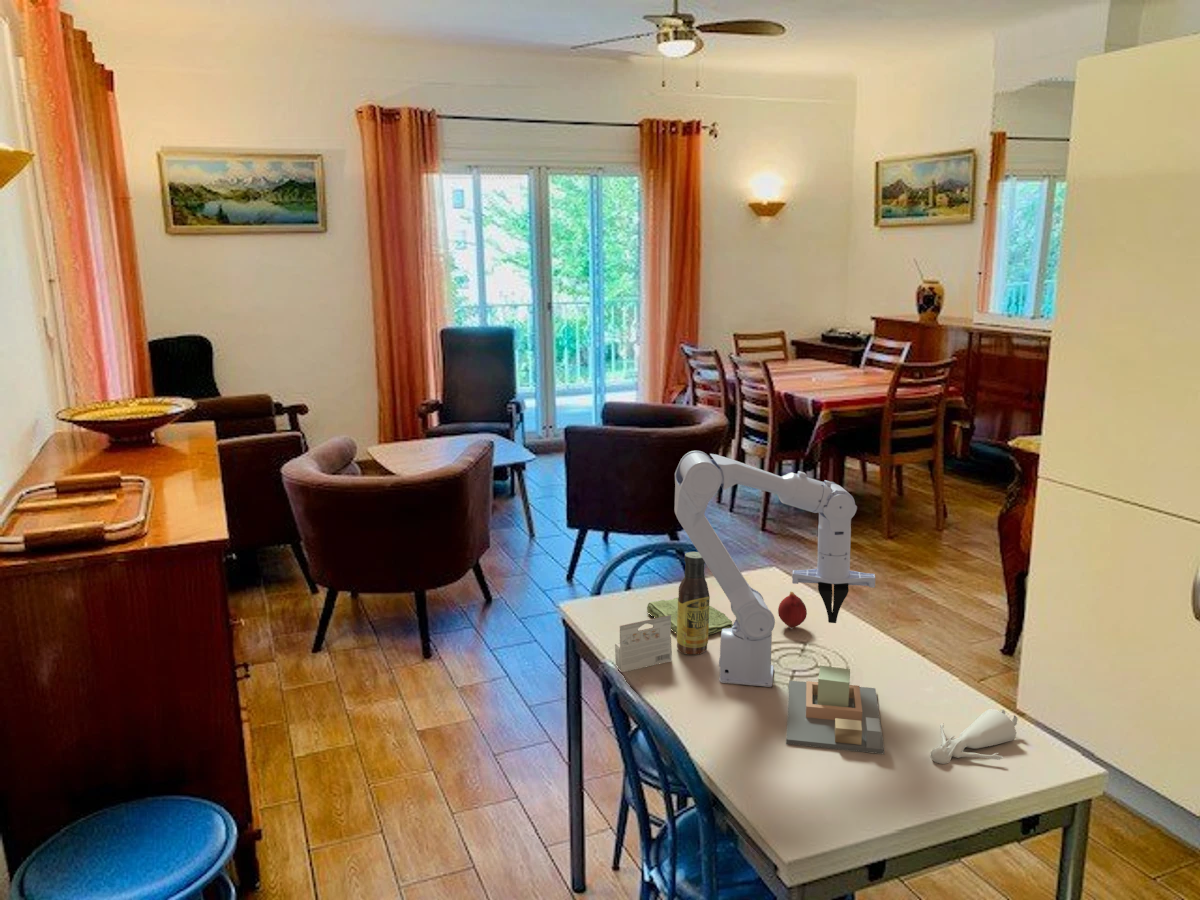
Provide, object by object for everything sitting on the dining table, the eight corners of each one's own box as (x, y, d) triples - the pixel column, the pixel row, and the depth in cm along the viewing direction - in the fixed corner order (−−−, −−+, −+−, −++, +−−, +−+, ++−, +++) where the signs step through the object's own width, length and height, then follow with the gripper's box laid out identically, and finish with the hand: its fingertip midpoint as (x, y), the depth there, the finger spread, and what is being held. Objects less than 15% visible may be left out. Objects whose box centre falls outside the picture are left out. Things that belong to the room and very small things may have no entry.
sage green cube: (817, 711, 148) (818, 678, 147) (819, 697, 153) (820, 665, 151) (847, 715, 147) (849, 682, 145) (848, 700, 151) (850, 669, 150)
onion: (810, 625, 184) (811, 590, 182) (800, 635, 179) (801, 599, 177) (783, 620, 187) (784, 584, 185) (773, 629, 182) (774, 593, 180)
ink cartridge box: (614, 668, 167) (613, 620, 165) (666, 656, 171) (666, 610, 169) (620, 673, 165) (619, 625, 162) (672, 662, 169) (672, 615, 167)
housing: (786, 743, 140) (786, 722, 139) (789, 684, 159) (789, 665, 158) (884, 754, 137) (885, 732, 136) (875, 692, 156) (876, 672, 155)
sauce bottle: (687, 659, 170) (687, 562, 165) (670, 647, 175) (670, 553, 171) (715, 651, 172) (716, 556, 168) (697, 640, 178) (698, 547, 174)
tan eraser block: (835, 742, 139) (835, 727, 138) (834, 732, 141) (835, 718, 141) (861, 744, 138) (862, 730, 137) (860, 734, 141) (860, 720, 140)
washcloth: (684, 645, 177) (684, 630, 176) (642, 614, 192) (642, 600, 192) (738, 632, 182) (738, 618, 181) (693, 603, 198) (693, 589, 197)
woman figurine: (1043, 722, 137) (966, 763, 128) (1042, 747, 138) (965, 790, 129) (979, 691, 147) (903, 727, 138) (978, 715, 148) (903, 752, 139)
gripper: (874, 545, 160) (871, 614, 163) (793, 542, 163) (792, 609, 166) (877, 558, 153) (874, 630, 156) (792, 554, 157) (791, 625, 160)
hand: (832, 620), depth 161 cm, fingers closed
